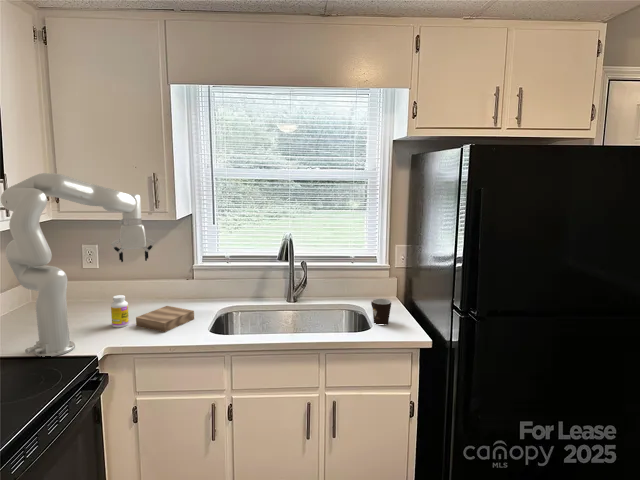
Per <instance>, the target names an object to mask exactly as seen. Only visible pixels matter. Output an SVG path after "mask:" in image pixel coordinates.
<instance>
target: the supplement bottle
mask: <svg viewBox="0 0 640 480" xmlns="http://www.w3.org/2000/svg"><path fill="white" fill-rule="evenodd" d="M112 301H113V302H112V303H110V312H111V326H112V328H124V327H127V326H129V323H130V317H129V302H128V301H126V296H125V295H123V294H119V295H118V294H117V295H114V296H112Z"/></svg>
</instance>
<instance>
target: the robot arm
mask: <svg viewBox="0 0 640 480" xmlns="http://www.w3.org/2000/svg"><path fill="white" fill-rule="evenodd" d="M48 197H53V198H58V199H61V200H64V201H70V202H73V203H76V204H80V205H84V206H90V207H102V208H103V209H104V210H105V211H106V212H107V211H108V212H111V213H121V214H122V215H121V217H122V219H119V220H118V223H119V224H122V225H120V231H119V232H120V234H119V236H120V238H118V239H117V240H116V239H115V240H114V241H113V242H111V244H110V245H111V246H112V248H113V250H114V251H116V252H117V253H118V258H119V259H118V260H119V261H120V263H123V262H124V252H123V251H124V250H135V249H143V250H144V261H146V262H147V260H148V259H149V251H150V250H152V249H153V246H154V244H155V243H156V242H155V240H152V239H150V238H148V237H146V229H145V226H144V224H143V223H142V201H141V196H140V195H139V194H138V193H127V192H126V193H125V192H124V191H120V190H117V189H113V188H108V187H104V186H101V185H97V184H93V183H89V182H86V181H83V180H80V179H77V178H74V177H70V176H68V175H65V174H61V173H55V172H53V173H50V172H49V173H47V172H43V173H41V172H40V173H38V174H35V175H32V176H30V177H28V178H27V179H24V180H22V181H20V182H18V183H16V184H14V185H11V186H9V187H8V188H6V189H4V191H3V192H2V194H1V196H0V203H1V205H2V206H3V207H4V208H5V209H6V210H8V211H11V212H12V214H11V215H10V216H11V217H10V219H9V224H8V225H9V226H8V227H9V232H10V234H11V236H12V240H11V241H9V243H8V244H7V245H6V247H5V257H6V260H7V263H8V264H9V266H10V268H11V270H12V272H13V274H14V276H15V279H16V280H17V281H18V283H19V284H20V285H21V287H23V288H24V289H27V290H31V291H36V292H38V293H37V297H36V300H35V313H36V322H37V324H36V325H37V332H38V333H37V334H38V341H35V344H34V345H33V346H30V347H26V348H25V350H24V351H25V354H26V355H29V354H31V353H34V355H36V356H38V357H41V356H42V358H44V357H45V356H51V357H56V356H61V355H65V354H67V353H69V352H72V351H73V350H74V349H75V347H76V344H75V342H74V341H71V339H70V331H69V330H70V328H69V327H70V326H69V316H68V305H67V288H68V281H69V280H68V276H67V273H66V272H65V271H64V270H63V269H61V268H60V267H57V266H52V265H48V264H49V263H50V262H51V260H52V258H53V255H52V254H53V253H52V251H51V250H52V249H51V248H50V246H49V244H48V241H47V239H46V237H45V235H44V233H43V230H42V228H41V224H40V219H41V216H42V214H43V212H44V211H45V208H46V207H47V205H48ZM147 243H150V244H149V245H148V247H147ZM117 244H120V248H119V247H117ZM45 358H46V357H45Z"/></svg>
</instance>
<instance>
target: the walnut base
mask: <svg viewBox="0 0 640 480" xmlns="http://www.w3.org/2000/svg"><path fill="white" fill-rule="evenodd" d="M193 320H195V310H192V309H186V308H181V307H176V306H171V305H164V306H162V307H159V308H157V309H154V310H152V311H149V312H146V313H143V314H141V315H138V316H136V317H135V322H136V323H135V324H136V325H135V326H136V327H137V326H138V327H139V328H143V329H148V330H153V331H156V332H161V333H167V332H169V331H171V330H174V329H175V328H178V327H180V326H182V325H184V324H187V323H188V322H191V321H193Z"/></svg>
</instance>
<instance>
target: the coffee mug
mask: <svg viewBox="0 0 640 480" xmlns="http://www.w3.org/2000/svg"><path fill="white" fill-rule="evenodd" d="M370 304H371V307H372V318H373V324H374V323H376V324H387V325H388V324H389V319H390V313H391V310H392V309H391V308H392V301H391V300H390V299H387V298H381V297H380V298H374V299H372V300H371V302H370ZM376 324H375V325H376Z"/></svg>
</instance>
